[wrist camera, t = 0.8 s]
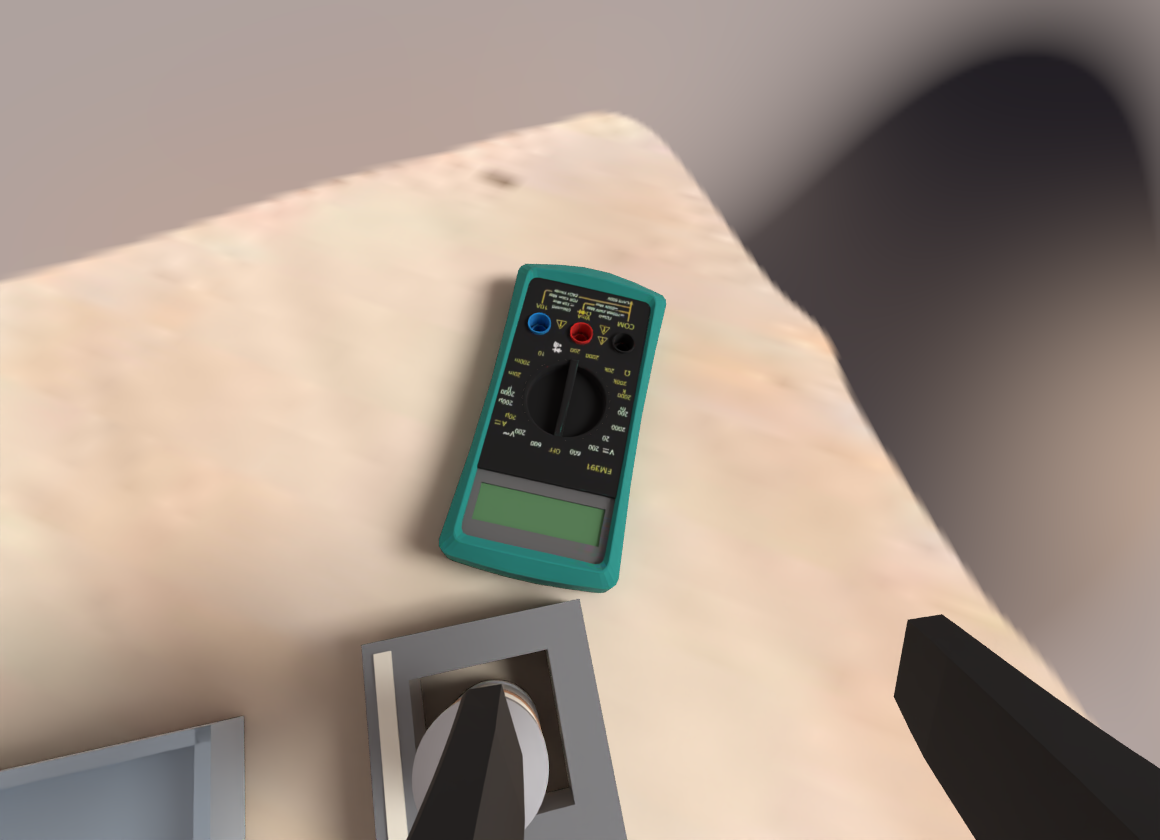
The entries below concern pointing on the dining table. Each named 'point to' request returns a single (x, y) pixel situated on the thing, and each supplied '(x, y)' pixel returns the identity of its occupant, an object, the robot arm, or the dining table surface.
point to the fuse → (526, 733)
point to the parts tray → (133, 790)
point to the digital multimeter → (558, 431)
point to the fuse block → (394, 667)
